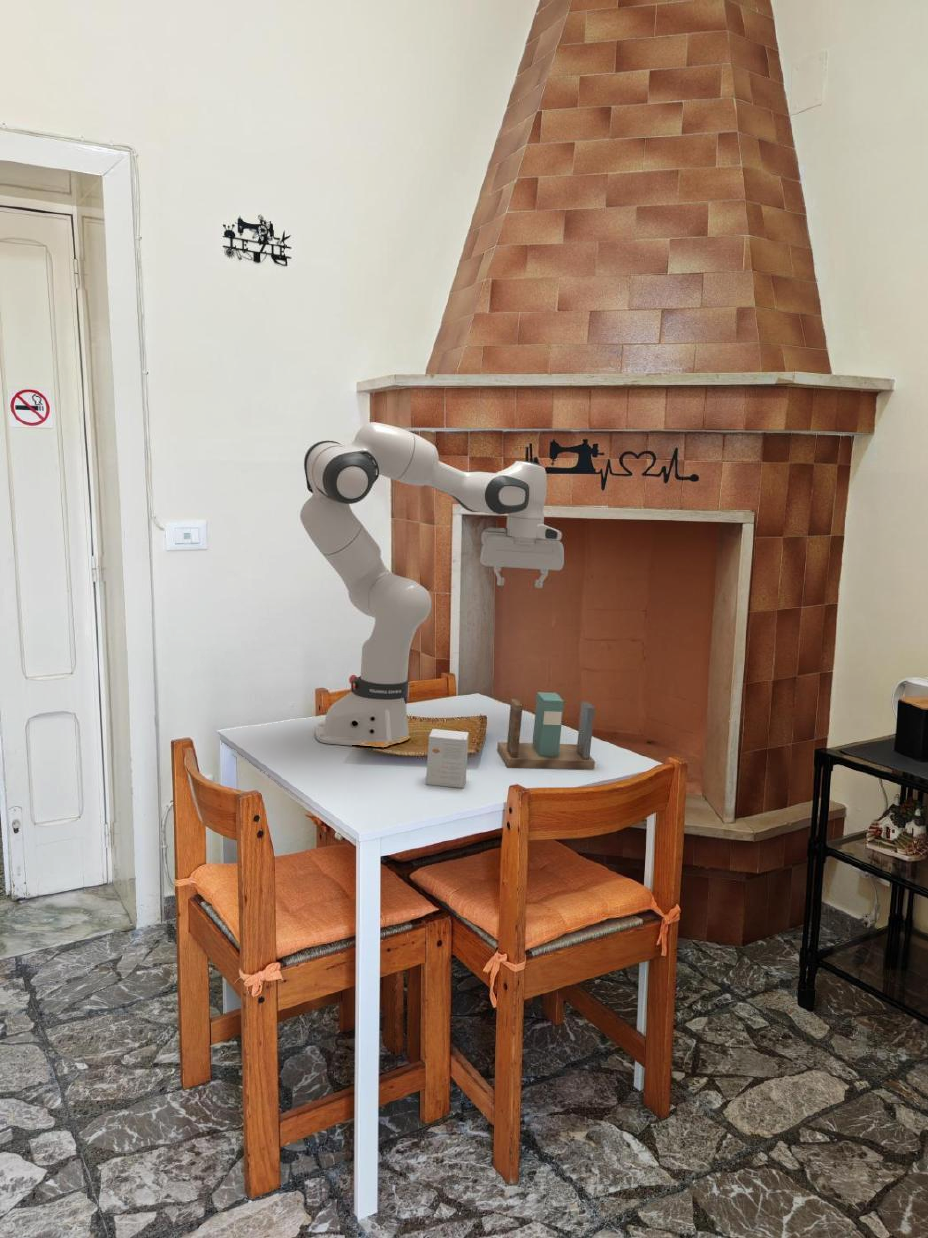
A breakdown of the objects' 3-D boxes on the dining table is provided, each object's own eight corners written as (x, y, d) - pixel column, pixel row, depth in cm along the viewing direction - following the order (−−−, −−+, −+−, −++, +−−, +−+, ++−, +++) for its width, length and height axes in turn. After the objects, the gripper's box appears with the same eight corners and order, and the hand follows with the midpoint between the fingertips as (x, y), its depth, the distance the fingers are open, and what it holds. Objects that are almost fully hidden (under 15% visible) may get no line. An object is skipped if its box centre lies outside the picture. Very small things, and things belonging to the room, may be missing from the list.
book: (539, 756, 208) (544, 700, 206) (532, 746, 215) (537, 692, 213) (558, 757, 209) (564, 701, 206) (550, 746, 216) (556, 693, 214)
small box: (466, 779, 195) (470, 732, 193) (463, 789, 190) (467, 739, 188) (428, 775, 196) (432, 728, 194) (425, 784, 190) (428, 735, 189)
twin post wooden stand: (507, 767, 205) (512, 706, 203) (497, 750, 217) (502, 692, 214) (593, 769, 208) (600, 709, 206) (579, 752, 220) (585, 695, 217)
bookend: (582, 759, 208) (588, 708, 206) (576, 751, 214) (581, 701, 212) (589, 759, 209) (594, 708, 206) (582, 751, 214) (587, 701, 212)
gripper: (484, 527, 218) (479, 585, 220) (568, 533, 221) (562, 590, 223) (480, 525, 224) (475, 582, 226) (561, 531, 227) (556, 586, 229)
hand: (519, 586), depth 225 cm, fingers open, 8 cm apart
